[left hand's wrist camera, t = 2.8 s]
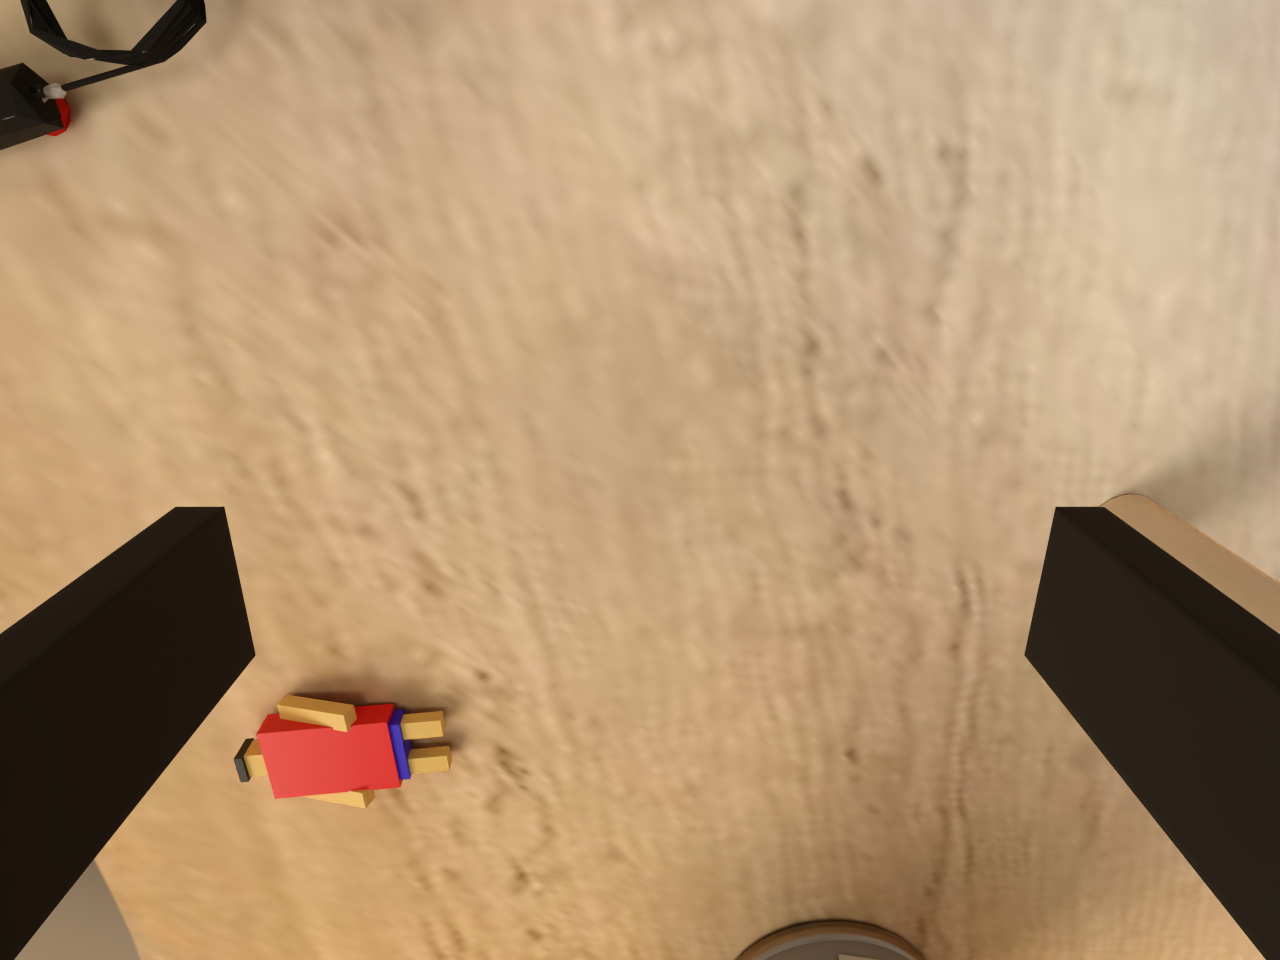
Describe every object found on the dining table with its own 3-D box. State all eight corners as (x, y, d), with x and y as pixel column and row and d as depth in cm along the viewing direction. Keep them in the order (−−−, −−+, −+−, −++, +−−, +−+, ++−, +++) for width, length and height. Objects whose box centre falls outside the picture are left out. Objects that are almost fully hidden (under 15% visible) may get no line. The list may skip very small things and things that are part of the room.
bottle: (1156, 557, 44) (1502, 816, 26) (1082, 565, 44) (1376, 827, 26) (1165, 490, 42) (1539, 716, 25) (1088, 498, 43) (1404, 729, 25)
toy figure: (433, 707, 45) (220, 726, 45) (451, 800, 48) (249, 819, 47) (441, 681, 47) (238, 698, 47) (457, 771, 50) (265, 789, 49)
